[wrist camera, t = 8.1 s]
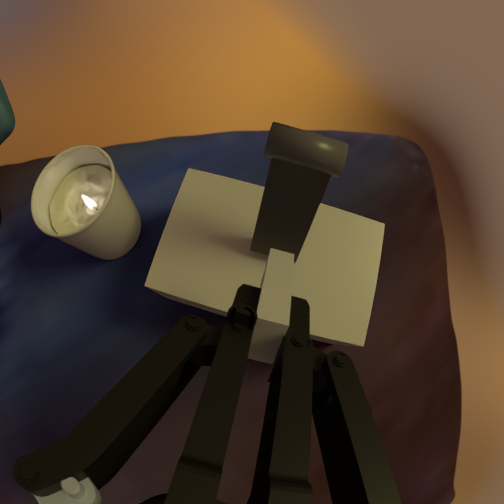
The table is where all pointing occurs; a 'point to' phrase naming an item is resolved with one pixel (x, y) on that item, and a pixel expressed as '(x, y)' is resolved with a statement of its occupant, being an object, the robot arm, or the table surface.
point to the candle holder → (86, 203)
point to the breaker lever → (294, 186)
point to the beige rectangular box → (266, 257)
